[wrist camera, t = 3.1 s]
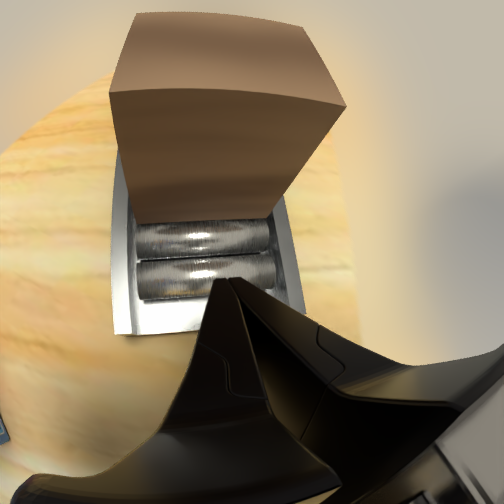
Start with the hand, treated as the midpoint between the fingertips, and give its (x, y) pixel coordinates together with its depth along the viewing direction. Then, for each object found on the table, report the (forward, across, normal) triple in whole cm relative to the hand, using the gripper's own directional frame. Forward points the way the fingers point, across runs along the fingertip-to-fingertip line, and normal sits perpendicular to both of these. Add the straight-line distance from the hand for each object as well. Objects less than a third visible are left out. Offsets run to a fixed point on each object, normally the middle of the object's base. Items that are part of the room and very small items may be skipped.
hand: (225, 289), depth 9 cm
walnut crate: (+7, 0, -2) cm, 8 cm away
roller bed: (+10, 0, -1) cm, 10 cm away
